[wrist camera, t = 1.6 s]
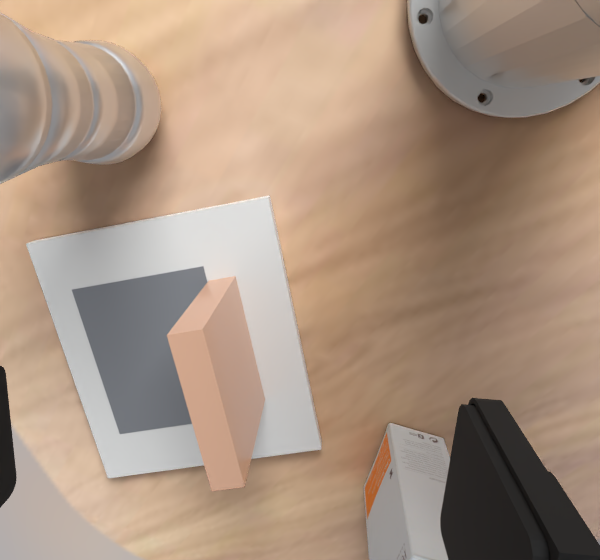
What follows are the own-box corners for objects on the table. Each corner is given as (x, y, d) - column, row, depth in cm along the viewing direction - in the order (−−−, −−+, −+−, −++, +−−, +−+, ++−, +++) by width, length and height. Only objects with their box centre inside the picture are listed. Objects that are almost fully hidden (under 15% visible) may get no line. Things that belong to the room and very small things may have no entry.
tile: (235, 275, 33) (202, 329, 25) (265, 399, 36) (244, 487, 27) (206, 280, 34) (163, 335, 25) (237, 403, 36) (208, 491, 27)
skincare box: (386, 419, 37) (412, 553, 25) (444, 436, 37) (495, 576, 26) (360, 488, 39) (372, 641, 27) (415, 503, 39) (450, 663, 27)
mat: (269, 195, 33) (267, 197, 32) (321, 441, 38) (321, 449, 37) (34, 240, 35) (25, 243, 34) (113, 469, 39) (107, 478, 38)
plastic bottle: (192, 97, 31) (-23, 57, 12) (129, 183, 33) (-145, 268, 14) (104, 21, 30) (-278, -148, 11) (44, 115, 32) (-374, 105, 13)
